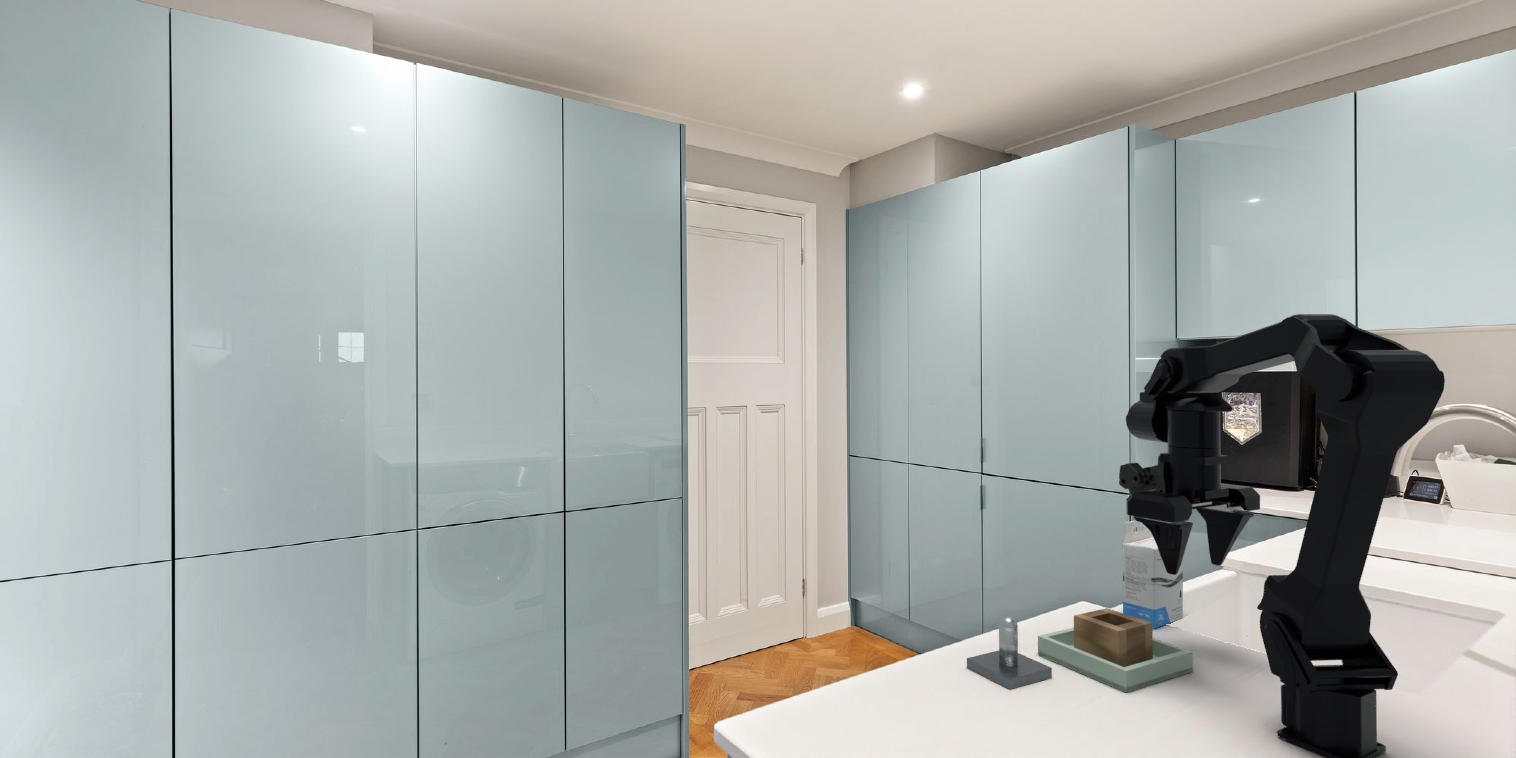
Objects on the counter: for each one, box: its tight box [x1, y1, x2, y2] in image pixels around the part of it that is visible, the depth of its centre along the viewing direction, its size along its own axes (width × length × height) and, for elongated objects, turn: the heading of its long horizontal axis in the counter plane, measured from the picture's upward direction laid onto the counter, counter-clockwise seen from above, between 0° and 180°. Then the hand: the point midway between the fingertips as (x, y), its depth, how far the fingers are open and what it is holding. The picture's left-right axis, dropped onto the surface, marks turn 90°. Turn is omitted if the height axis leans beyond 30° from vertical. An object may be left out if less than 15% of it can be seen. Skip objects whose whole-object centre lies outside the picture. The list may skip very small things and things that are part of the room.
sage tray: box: [1037, 626, 1194, 693], centre depth 89 cm, size 13×13×2 cm
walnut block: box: [1073, 607, 1154, 667], centre depth 89 cm, size 6×6×5 cm
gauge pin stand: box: [966, 615, 1053, 690], centre depth 86 cm, size 7×7×7 cm
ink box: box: [1122, 519, 1184, 630], centre depth 105 cm, size 8×5×15 cm, turn 123°
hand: (1194, 569), depth 88 cm, fingers open, 9 cm apart
